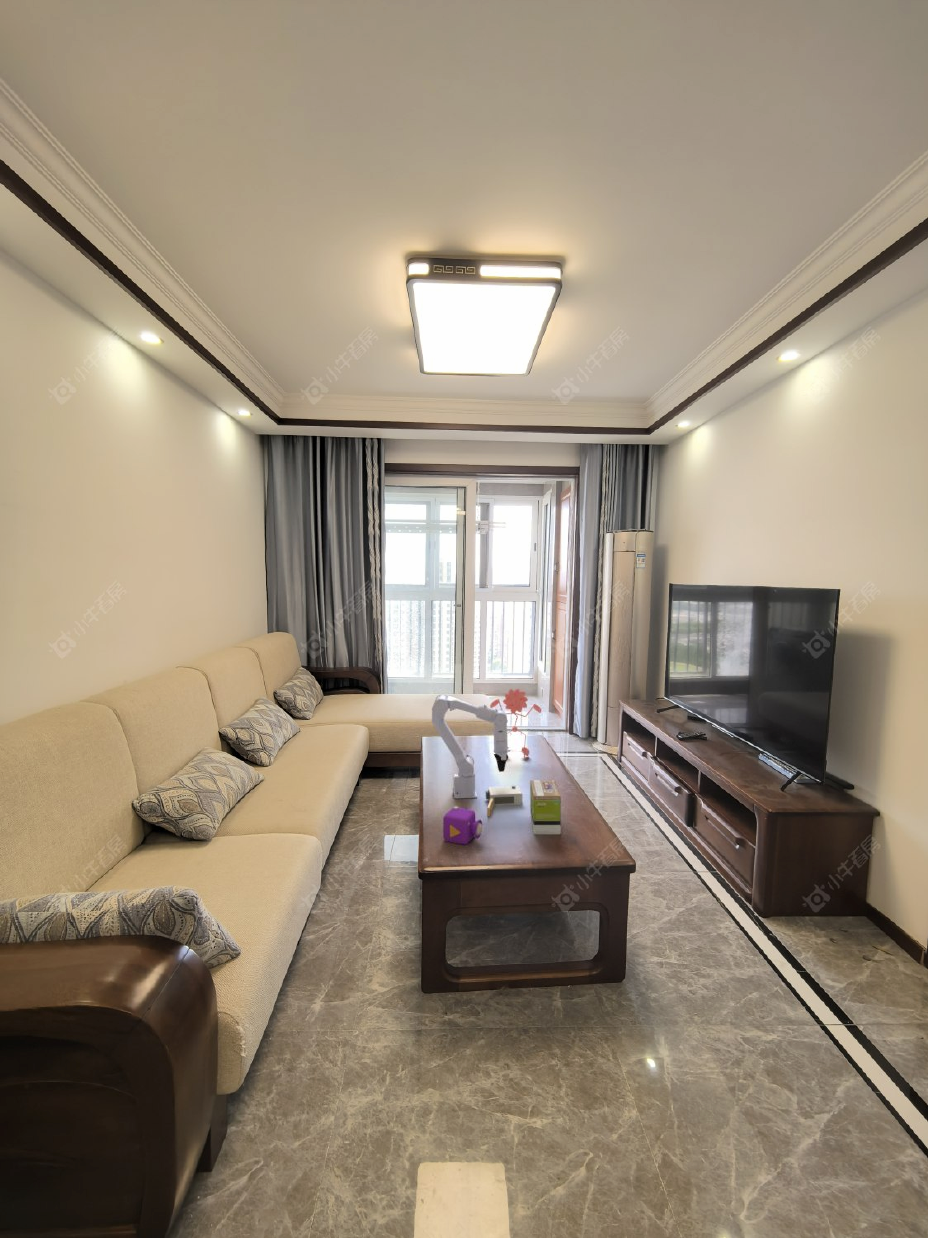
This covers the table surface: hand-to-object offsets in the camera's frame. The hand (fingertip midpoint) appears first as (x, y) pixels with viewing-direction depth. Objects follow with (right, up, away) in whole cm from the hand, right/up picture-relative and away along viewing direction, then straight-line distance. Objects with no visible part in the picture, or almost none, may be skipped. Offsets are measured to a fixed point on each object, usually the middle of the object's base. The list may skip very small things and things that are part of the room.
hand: (501, 771), depth 228 cm
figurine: (+11, -6, +50) cm, 52 cm away
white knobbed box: (+1, -11, -5) cm, 12 cm away
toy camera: (-16, -14, -37) cm, 42 cm away
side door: (-5, -12, -15) cm, 19 cm away
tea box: (+14, -13, -27) cm, 33 cm away
